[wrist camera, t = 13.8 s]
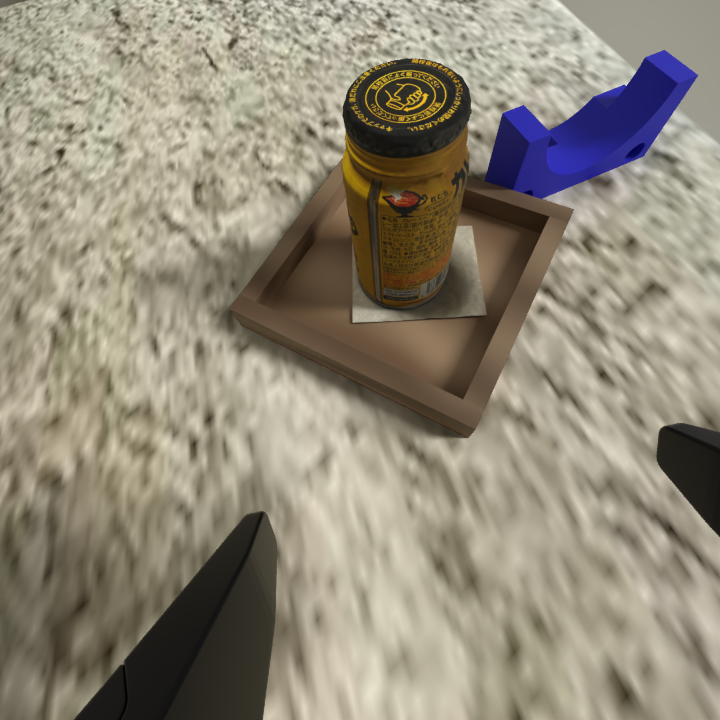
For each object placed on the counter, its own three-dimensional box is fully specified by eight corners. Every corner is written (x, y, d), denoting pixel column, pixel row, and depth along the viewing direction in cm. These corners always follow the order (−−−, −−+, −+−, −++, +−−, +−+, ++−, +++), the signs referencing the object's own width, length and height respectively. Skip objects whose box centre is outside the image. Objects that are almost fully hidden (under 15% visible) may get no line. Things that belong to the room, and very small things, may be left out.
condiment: (352, 235, 28) (325, 49, 17) (471, 227, 28) (522, 29, 17) (352, 324, 25) (321, 169, 14) (485, 317, 25) (559, 150, 14)
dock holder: (468, 438, 23) (475, 429, 20) (241, 325, 27) (229, 308, 25) (560, 232, 28) (574, 209, 26) (358, 164, 32) (355, 140, 30)
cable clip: (604, 122, 32) (648, 38, 26) (642, 158, 30) (698, 75, 24) (472, 176, 31) (489, 99, 25) (504, 215, 29) (529, 143, 23)
